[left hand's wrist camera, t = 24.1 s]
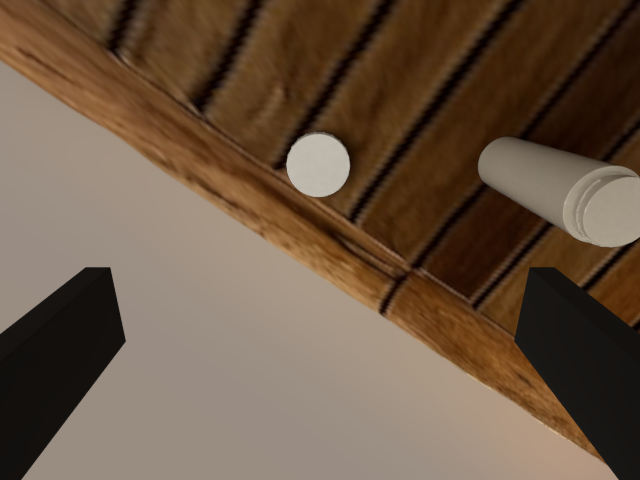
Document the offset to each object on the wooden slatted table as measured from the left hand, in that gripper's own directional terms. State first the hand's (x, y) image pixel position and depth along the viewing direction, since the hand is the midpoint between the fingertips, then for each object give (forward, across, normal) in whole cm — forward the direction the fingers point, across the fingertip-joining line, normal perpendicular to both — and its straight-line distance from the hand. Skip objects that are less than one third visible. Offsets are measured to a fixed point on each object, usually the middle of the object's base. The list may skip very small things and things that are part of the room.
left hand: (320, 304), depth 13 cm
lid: (+25, 0, 0) cm, 25 cm away
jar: (+26, +17, 0) cm, 32 cm away
